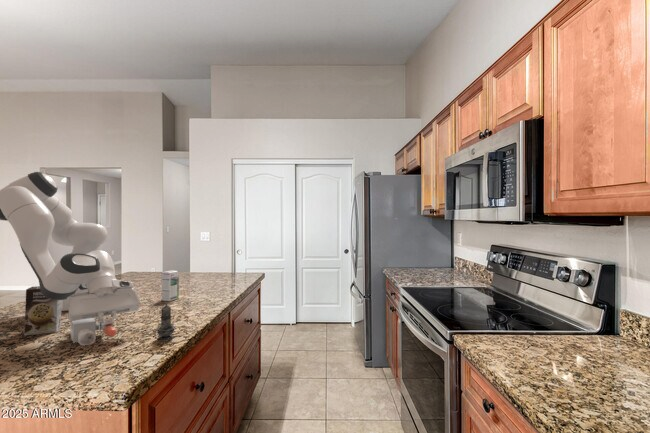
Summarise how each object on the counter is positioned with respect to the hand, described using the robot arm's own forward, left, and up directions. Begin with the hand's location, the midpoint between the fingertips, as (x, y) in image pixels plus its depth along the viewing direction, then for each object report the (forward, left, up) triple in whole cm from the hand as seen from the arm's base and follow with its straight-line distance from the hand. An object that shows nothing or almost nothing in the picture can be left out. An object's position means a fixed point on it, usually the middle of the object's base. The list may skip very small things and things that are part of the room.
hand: (108, 325), depth 106 cm
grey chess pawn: (+12, +12, -6) cm, 18 cm away
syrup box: (-33, +49, -6) cm, 59 cm away
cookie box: (-32, -4, -6) cm, 33 cm away
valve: (-13, -1, -6) cm, 14 cm away
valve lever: (-12, +5, -3) cm, 13 cm away
